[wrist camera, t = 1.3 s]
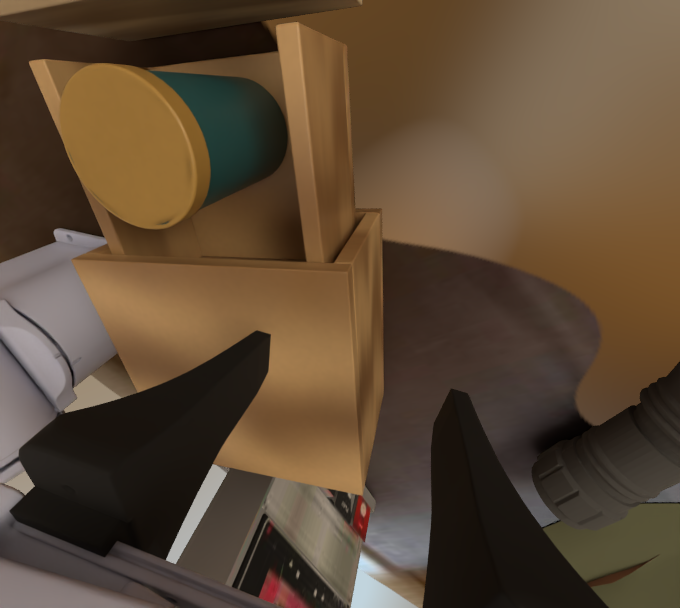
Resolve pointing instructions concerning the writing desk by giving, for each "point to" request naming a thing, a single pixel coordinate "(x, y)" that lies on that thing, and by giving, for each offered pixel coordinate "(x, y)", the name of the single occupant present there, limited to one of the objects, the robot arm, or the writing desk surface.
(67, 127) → the tea tin
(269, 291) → the cabinet
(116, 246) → the drawer
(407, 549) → the writing desk surface
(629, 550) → the green hill with tree
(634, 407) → the flashlight
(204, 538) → the cassette tape recorder
